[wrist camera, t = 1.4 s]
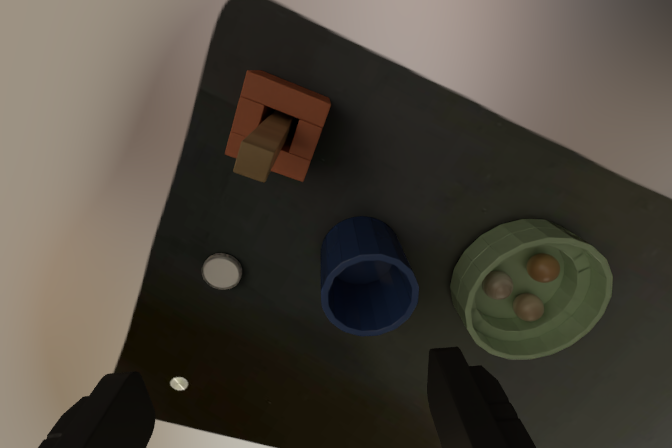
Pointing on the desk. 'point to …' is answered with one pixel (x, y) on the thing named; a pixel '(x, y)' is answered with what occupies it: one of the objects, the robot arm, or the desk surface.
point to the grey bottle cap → (221, 271)
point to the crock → (366, 278)
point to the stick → (263, 146)
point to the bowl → (531, 289)
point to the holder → (289, 99)
